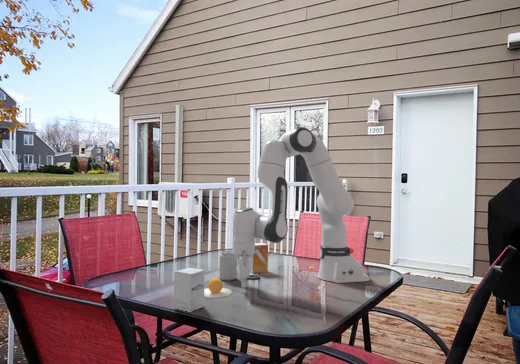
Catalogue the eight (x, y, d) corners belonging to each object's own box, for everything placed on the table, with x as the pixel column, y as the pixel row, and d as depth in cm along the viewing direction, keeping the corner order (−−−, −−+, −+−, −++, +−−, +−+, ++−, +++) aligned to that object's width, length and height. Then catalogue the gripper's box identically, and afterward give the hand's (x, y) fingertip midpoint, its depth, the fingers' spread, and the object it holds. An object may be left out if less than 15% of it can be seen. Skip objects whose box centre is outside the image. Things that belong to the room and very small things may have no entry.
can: (234, 281, 164) (234, 253, 164) (217, 280, 165) (217, 252, 165) (238, 277, 171) (238, 250, 171) (222, 276, 172) (222, 249, 172)
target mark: (231, 287, 154) (231, 287, 154) (232, 297, 141) (232, 297, 141) (199, 288, 153) (199, 287, 153) (196, 298, 140) (196, 297, 140)
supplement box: (189, 313, 124) (190, 274, 124) (173, 308, 128) (173, 271, 128) (204, 307, 130) (205, 269, 130) (188, 303, 134) (188, 266, 134)
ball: (208, 291, 149) (223, 290, 150) (207, 295, 144) (222, 294, 144) (208, 276, 149) (222, 276, 150) (207, 280, 144) (222, 279, 144)
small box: (252, 273, 178) (253, 245, 178) (247, 270, 184) (247, 243, 184) (268, 271, 182) (268, 244, 182) (262, 269, 188) (262, 242, 188)
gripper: (253, 253, 142) (252, 291, 142) (250, 244, 162) (249, 277, 162) (236, 253, 142) (235, 291, 142) (235, 244, 162) (234, 277, 162)
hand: (243, 283), depth 152 cm, fingers open, 8 cm apart
